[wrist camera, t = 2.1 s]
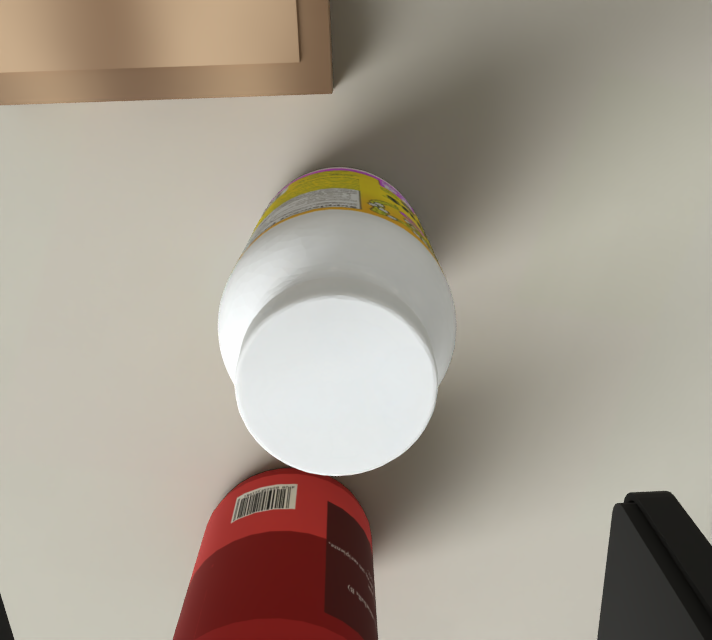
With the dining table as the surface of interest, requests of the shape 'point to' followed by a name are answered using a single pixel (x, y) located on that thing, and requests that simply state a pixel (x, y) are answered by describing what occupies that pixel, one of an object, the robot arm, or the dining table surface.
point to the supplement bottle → (337, 324)
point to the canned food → (283, 564)
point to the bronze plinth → (162, 49)
